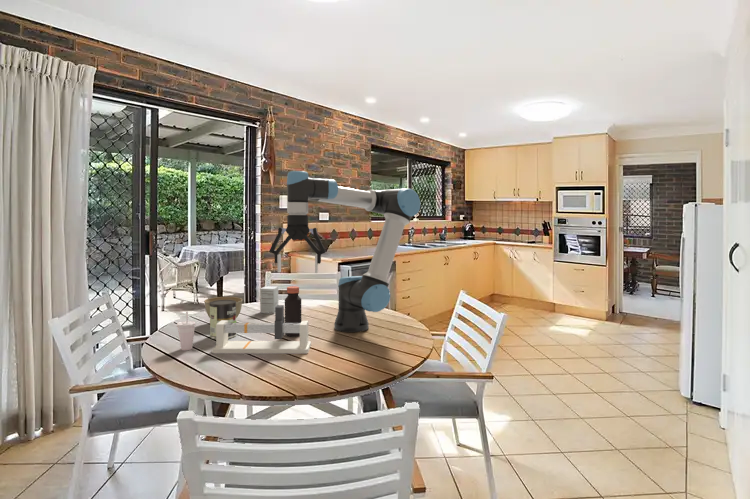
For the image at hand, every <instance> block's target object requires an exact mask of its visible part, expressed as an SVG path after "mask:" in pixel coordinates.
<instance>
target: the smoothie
mask: <svg viewBox="0 0 750 499" xmlns="http://www.w3.org/2000/svg"><path fill="white" fill-rule="evenodd" d="M185 316H186V317H185V321H179V322H177V323H176V327H177V329H178V337H179V338H178V339H179V343H180V344H179V345H180V350H181V351H190V350H193V344H194V338H195V337H194V336H195V326H196V325H197V324H196V321H193V320H189V312H188V311H185Z"/></svg>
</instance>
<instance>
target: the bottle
mask: <svg viewBox="0 0 750 499" xmlns="http://www.w3.org/2000/svg"><path fill="white" fill-rule="evenodd" d="M286 292H287V293H286V294H287V296H286V297H285V298H284V323H301V322H302V298H301V297H300V295H299V294H300V287H299V286H298V285H297V286H296V285H295V286H293V285H292V286H291V285H290V286H286ZM284 336H286V337H290V338H294V337H295V338H296V337H300V333H285V334H284Z"/></svg>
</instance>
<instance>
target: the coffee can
mask: <svg viewBox="0 0 750 499" xmlns="http://www.w3.org/2000/svg"><path fill="white" fill-rule="evenodd" d="M209 305H210V318H209V332H210V334H209V335H210V336H209V337H210V339H213V340H216V324H217V323H219V322H220V321H221V320H228V323H237V318H236V301H235V300H216V301H212V302H210V303H209ZM237 334H238V333H228V340H229V339H233V338H235V337H236V336H237Z"/></svg>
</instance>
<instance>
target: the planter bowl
mask: <svg viewBox="0 0 750 499" xmlns="http://www.w3.org/2000/svg"><path fill="white" fill-rule="evenodd" d="M216 300H235V301H236V319H238V316H239V315H240V313H241V310H242V306H243V298H241V297H236V296H235V297H234V296H217V297H212V298H206V299H205V300H204V305H205V312H206V315H207V317H208V318H209V319H210V305H209V303H210V302H212V301H216Z"/></svg>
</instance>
